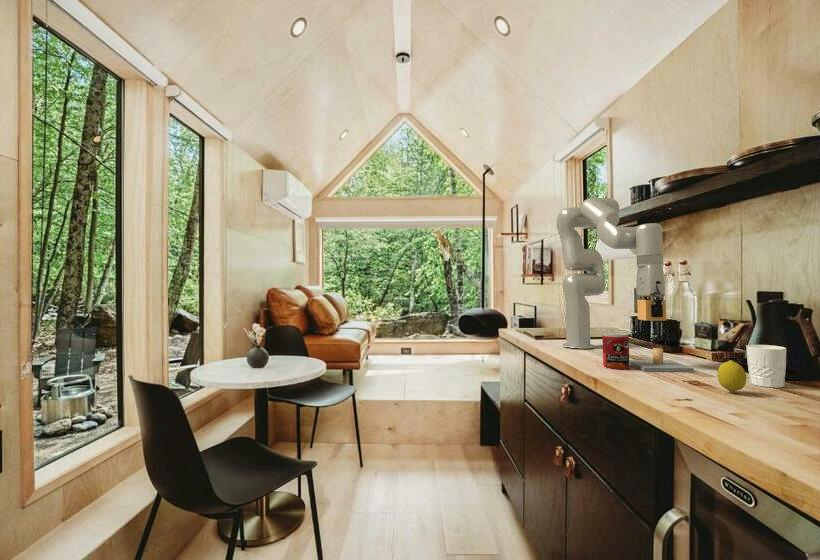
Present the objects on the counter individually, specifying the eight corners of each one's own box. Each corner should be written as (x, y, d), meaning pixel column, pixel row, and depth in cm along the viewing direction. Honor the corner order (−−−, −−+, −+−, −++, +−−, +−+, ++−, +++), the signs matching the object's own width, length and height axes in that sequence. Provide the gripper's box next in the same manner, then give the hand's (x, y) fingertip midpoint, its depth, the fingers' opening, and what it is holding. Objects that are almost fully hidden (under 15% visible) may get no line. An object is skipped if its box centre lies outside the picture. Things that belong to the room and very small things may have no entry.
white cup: (794, 386, 102) (793, 347, 102) (776, 390, 99) (775, 350, 100) (758, 380, 110) (757, 343, 110) (740, 383, 107) (739, 345, 107)
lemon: (752, 396, 94) (751, 362, 94) (725, 395, 95) (724, 362, 95) (738, 390, 99) (737, 358, 100) (713, 389, 101) (712, 358, 101)
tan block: (637, 319, 133) (637, 299, 133) (657, 319, 132) (656, 299, 132) (646, 320, 127) (645, 300, 127) (666, 320, 126) (665, 300, 126)
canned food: (605, 369, 126) (604, 334, 126) (601, 364, 134) (600, 331, 134) (632, 370, 124) (631, 335, 124) (626, 365, 131) (625, 332, 132)
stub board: (626, 363, 135) (626, 345, 135) (671, 363, 133) (670, 345, 133) (644, 371, 122) (644, 352, 122) (693, 372, 120) (693, 352, 120)
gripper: (626, 263, 139) (628, 315, 139) (650, 259, 122) (652, 318, 121) (649, 263, 138) (651, 314, 138) (676, 259, 121) (678, 318, 121)
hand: (652, 315), depth 130 cm, fingers closed on tan block, 6 cm apart
